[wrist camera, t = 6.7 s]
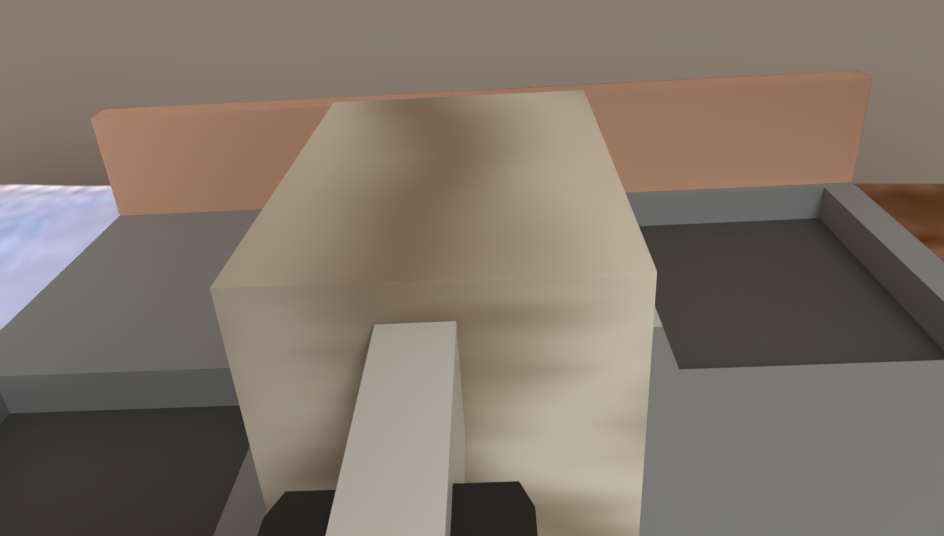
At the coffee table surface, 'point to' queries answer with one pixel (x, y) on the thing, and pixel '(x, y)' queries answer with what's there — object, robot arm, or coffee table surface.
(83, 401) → the box
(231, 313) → the block
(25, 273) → the coffee table surface
